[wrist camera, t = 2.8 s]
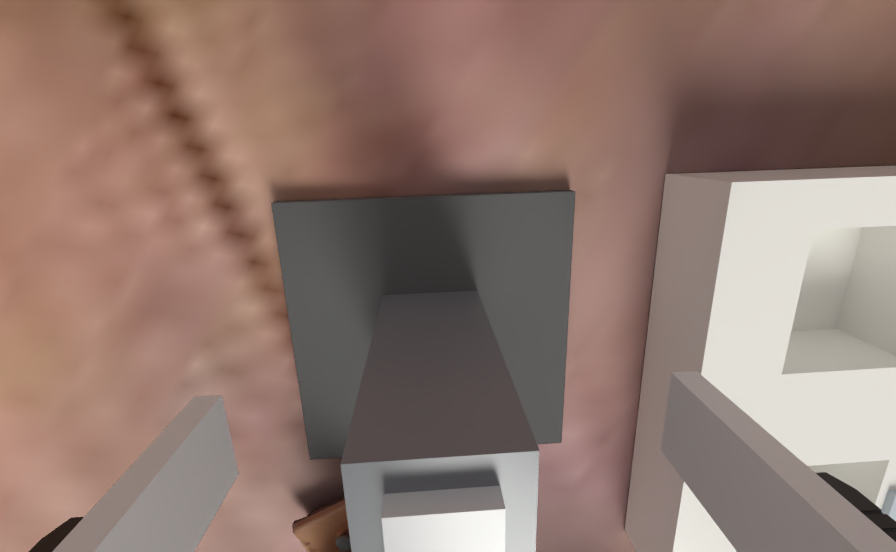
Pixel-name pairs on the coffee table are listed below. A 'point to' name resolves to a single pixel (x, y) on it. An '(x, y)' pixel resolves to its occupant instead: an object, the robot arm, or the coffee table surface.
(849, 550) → the robot arm
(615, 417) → the coffee table surface
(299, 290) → the mat
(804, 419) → the socket block
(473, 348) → the plug
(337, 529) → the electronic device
